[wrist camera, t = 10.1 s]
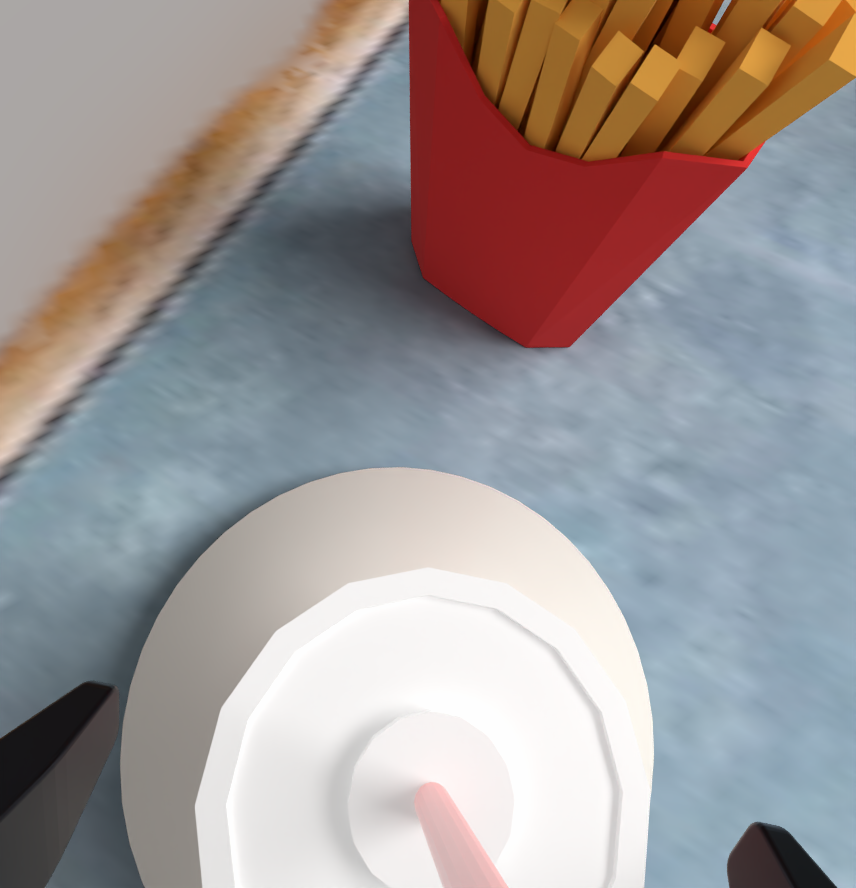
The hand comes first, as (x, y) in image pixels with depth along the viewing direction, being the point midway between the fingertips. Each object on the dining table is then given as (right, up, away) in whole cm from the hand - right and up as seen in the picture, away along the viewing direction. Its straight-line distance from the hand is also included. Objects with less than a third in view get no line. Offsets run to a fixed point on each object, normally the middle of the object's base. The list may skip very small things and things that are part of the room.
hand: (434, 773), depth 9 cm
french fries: (+3, +10, +14) cm, 18 cm away
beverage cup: (-1, -3, +8) cm, 9 cm away
